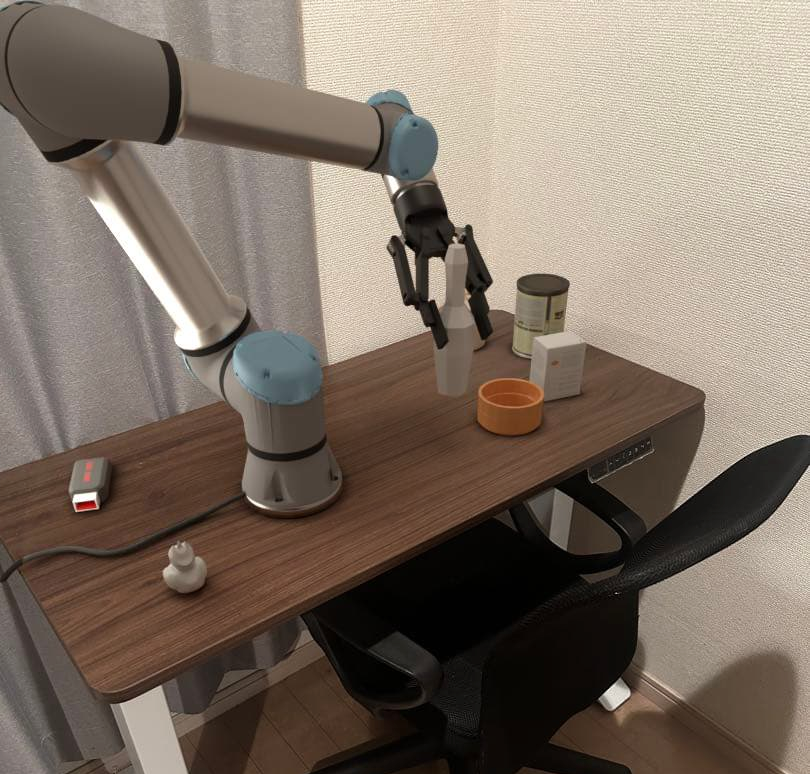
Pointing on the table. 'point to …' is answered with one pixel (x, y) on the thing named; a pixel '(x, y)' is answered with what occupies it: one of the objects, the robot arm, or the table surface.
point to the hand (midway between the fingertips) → (465, 340)
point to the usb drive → (90, 483)
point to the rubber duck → (184, 569)
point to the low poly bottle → (455, 327)
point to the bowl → (510, 406)
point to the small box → (558, 364)
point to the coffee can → (538, 309)
